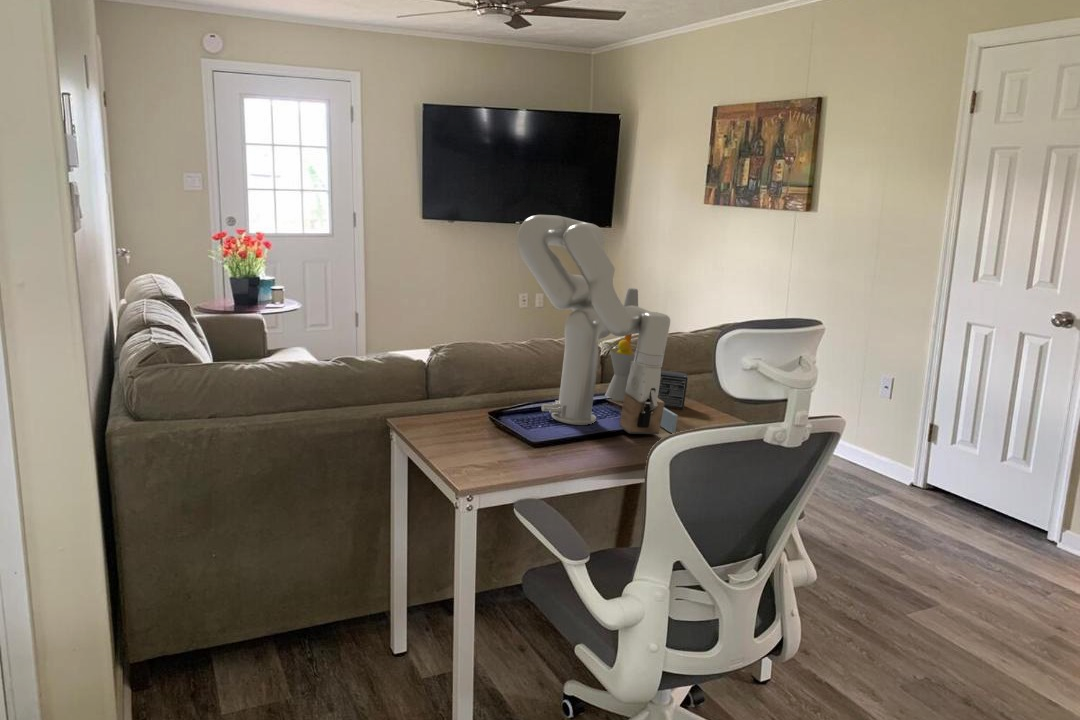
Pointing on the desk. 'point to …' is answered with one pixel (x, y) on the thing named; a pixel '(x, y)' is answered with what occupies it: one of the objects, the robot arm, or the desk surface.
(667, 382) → the small box
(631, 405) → the wooden block
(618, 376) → the lava lamp
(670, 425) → the door
